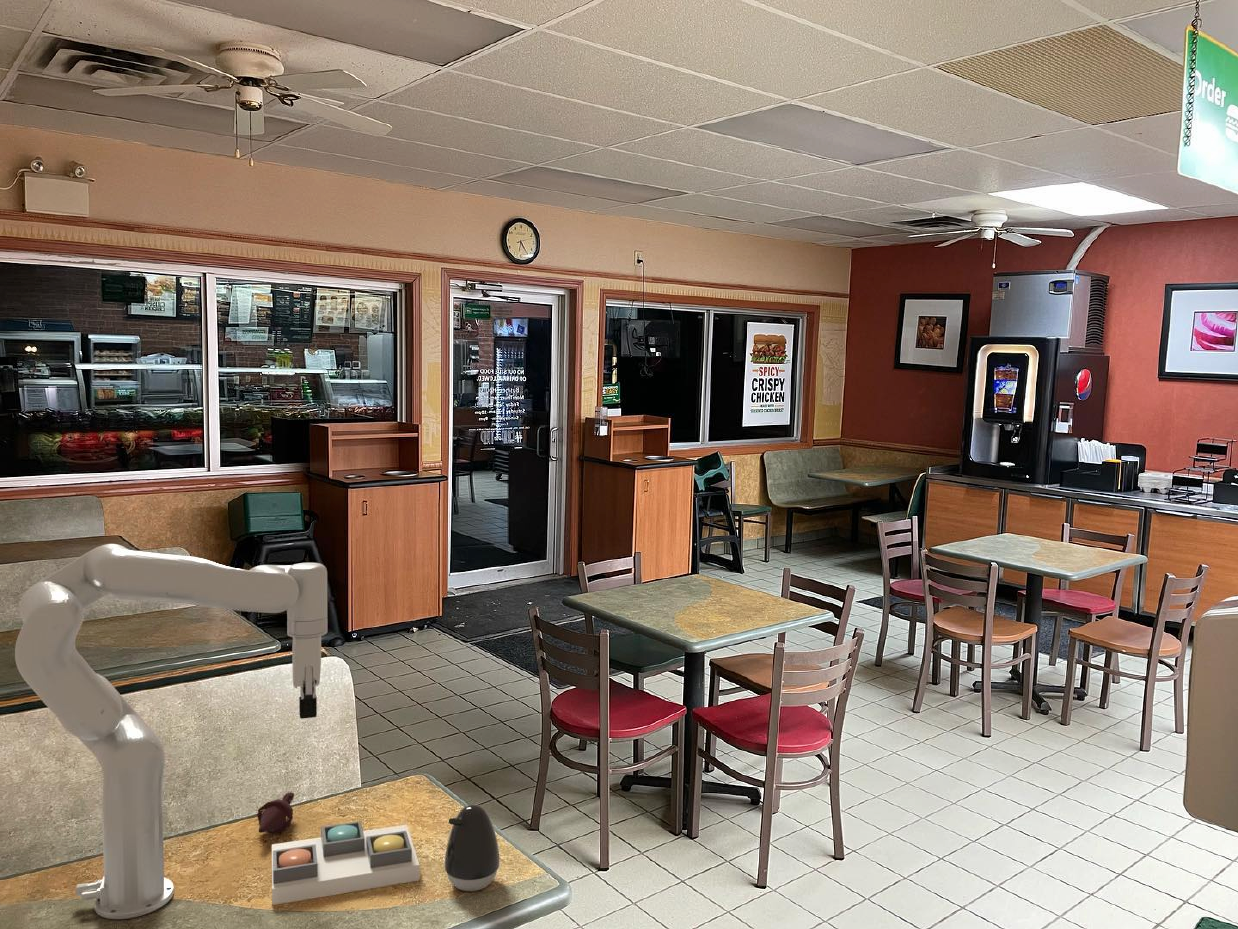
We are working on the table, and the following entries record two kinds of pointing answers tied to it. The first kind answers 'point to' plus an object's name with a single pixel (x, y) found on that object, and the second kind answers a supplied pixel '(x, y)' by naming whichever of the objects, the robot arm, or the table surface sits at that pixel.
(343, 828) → the button teal
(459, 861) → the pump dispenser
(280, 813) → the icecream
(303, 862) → the button terracotta
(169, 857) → the table surface
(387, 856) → the button panel
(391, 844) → the button ochre
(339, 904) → the table surface
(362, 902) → the table surface
